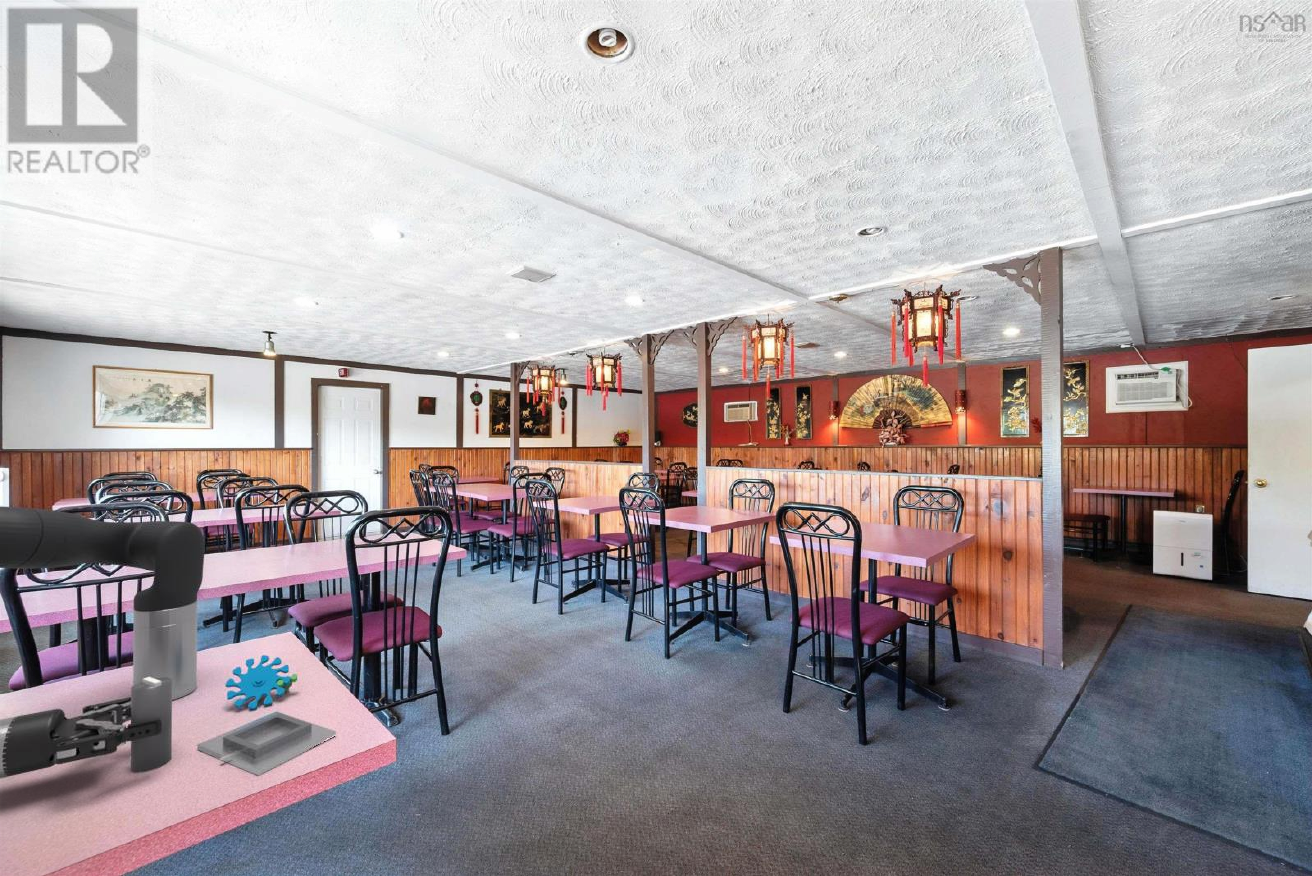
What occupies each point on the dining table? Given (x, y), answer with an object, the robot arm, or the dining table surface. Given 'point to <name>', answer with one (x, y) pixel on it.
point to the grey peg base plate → (265, 742)
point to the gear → (260, 682)
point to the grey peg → (146, 705)
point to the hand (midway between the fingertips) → (166, 713)
